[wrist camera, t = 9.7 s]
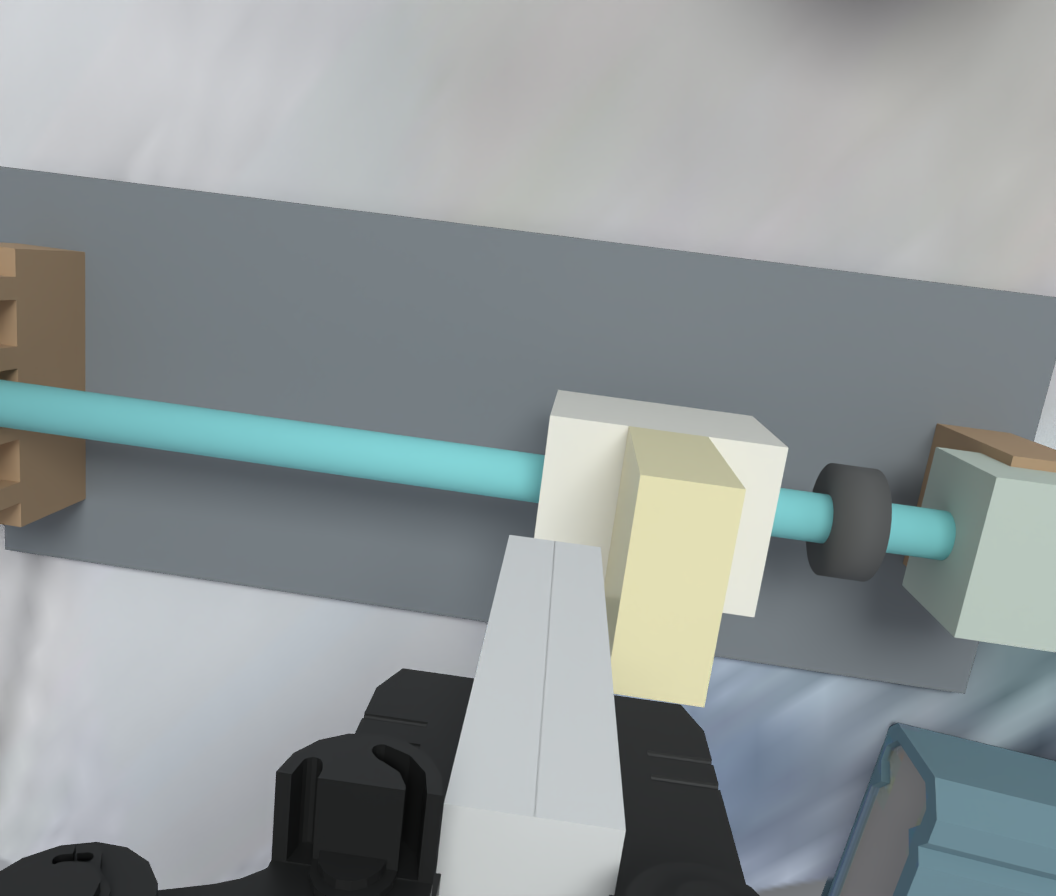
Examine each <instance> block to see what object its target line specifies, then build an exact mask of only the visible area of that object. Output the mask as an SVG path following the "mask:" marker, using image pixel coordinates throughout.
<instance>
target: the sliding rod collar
mask: <svg viewBox="0 0 1056 896" xmlns="http://www.w3.org/2000/svg"><path fill="white" fill-rule="evenodd" d="M787 453H788V447H787V446H786V445H785V444H784V443H783V442H781V441H780V440H779V439H778V438H777V437H776V436H775V435H773V434H772V433H771V432H770V431H769V430H768V429H767V428H765V427H764V426H763V425H762V424H761V423H760V422H759V421H757V420H756V419H755V418H754V417H753V416H749V415H742V414H734V413H727V412H720V411H712V410H705V409H697V408H690V407H682V406H675V405H667V404H660V403H652V402H645V401H638V400H630V399H623V398H615V397H608V396H600V395H593V394H585V393H578V392H571V391H563V390H558V392H557V395H556V398H555V401H554V405H553V408H552V411H551V414H550V421H549V428H548V436H547V444H546V451H545V459H544V466H543V474H542V482H541V489H540V497H539V504H538V512H537V520H536V527H535V535H534V538H537V539H544V540H551V541H559V542H566V543H573V544H581V545H588V546H595V547H601V556H602V567H603V579H604V590H605V601H606V612H607V624H608V635H609V646H610V658H611V669H612V680H613V691H614V694H620V695H627V696H633V697H640V698H646V699H653V700H659V701H666V702H672V703H679V704H685V705H692V706H698V707H704V706H705V701H706V695H707V690H708V685H709V680H710V675H711V669H712V664H713V659H714V654H715V649H716V643H717V638H718V633H719V628H720V623H721V617H722V613H728V614H734V615H741V616H748V617H754V616H755V611H756V606H757V602H758V597H759V592H760V587H761V582H762V577H763V572H764V567H765V562H766V557H767V552H768V547H769V542H770V537H771V532H772V527H773V522H774V517H775V512H776V508H777V503H778V498H779V493H780V488H781V483H782V478H783V473H784V468H785V463H786V458H787Z"/></svg>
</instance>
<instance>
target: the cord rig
mask: <svg viewBox="0 0 1056 896" xmlns="http://www.w3.org/2000/svg"><path fill="white" fill-rule="evenodd" d="M1055 361H1056V297H1050V296H1042V295H1034V294H1025V293H1017V292H1009V291H1001V290H993V289H985V288H977V287H969V286H961V285H953V284H945V283H937V282H929V281H921V280H913V279H904V278H896V277H888V276H880V275H872V274H864V273H856V272H848V271H840V270H832V269H824V268H816V267H808V266H800V265H792V264H783V263H775V262H767V261H759V260H751V259H743V258H735V257H727V256H719V255H711V254H703V253H695V252H687V251H679V250H670V249H662V248H654V247H646V246H638V245H630V244H622V243H614V242H606V241H598V240H590V239H582V238H574V237H566V236H558V235H549V234H541V233H533V232H525V231H517V230H509V229H501V228H493V227H485V226H477V225H469V224H461V223H453V222H445V221H436V220H428V219H420V218H412V217H404V216H396V215H388V214H380V213H372V212H364V211H356V210H348V209H340V208H332V207H324V206H315V205H307V204H299V203H291V202H283V201H275V200H267V199H259V198H251V197H243V196H235V195H227V194H219V193H211V192H202V191H194V190H186V189H178V188H170V187H162V186H154V185H146V184H138V183H130V182H122V181H114V180H106V179H98V178H90V177H81V176H73V175H65V174H57V173H49V172H41V171H33V170H25V169H17V168H9V167H1V166H0V524H3V525H5V549H6V550H12V551H19V552H26V553H32V554H39V555H46V556H52V557H59V558H65V559H72V560H79V561H85V562H92V563H99V564H105V565H112V566H119V567H125V568H132V569H139V570H145V571H152V572H159V573H165V574H172V575H178V576H185V577H192V578H198V579H205V580H212V581H218V582H225V583H232V584H238V585H245V586H252V587H258V588H265V589H272V590H278V591H285V592H291V593H298V594H305V595H311V596H318V597H325V598H331V599H338V600H345V601H351V602H358V603H365V604H371V605H378V606H385V607H391V608H398V609H404V610H411V611H418V612H424V613H431V614H438V615H444V616H451V617H458V618H464V619H471V620H478V621H484V622H488V621H489V617H490V612H491V608H492V604H493V600H494V596H495V592H496V588H497V584H498V580H499V576H500V571H501V567H502V563H503V559H504V555H505V551H506V547H507V543H508V539H509V535H515V536H522V537H529V538H534V535H535V527H536V520H537V512H538V504H539V497H540V489H541V482H542V474H543V466H544V459H545V451H546V444H547V436H548V428H549V421H550V414H551V411H552V408H553V405H554V401H555V398H556V395H557V392H558V390H563V391H571V392H578V393H585V394H593V395H600V396H608V397H615V398H623V399H630V400H638V401H645V402H652V403H660V404H667V405H675V406H682V407H690V408H697V409H705V410H712V411H720V412H727V413H734V414H742V415H749V416H753V417H754V418H755V419H756V420H757V421H759V422H760V423H761V424H762V425H763V426H764V427H765V428H767V429H768V430H769V431H770V432H771V433H772V434H773V435H775V436H776V437H777V438H778V439H779V440H780V441H781V442H783V443H784V444H785V445H786V446H787V447H788V453H787V458H786V463H785V468H784V473H783V478H782V483H781V488H780V493H779V498H778V503H777V508H776V512H775V517H774V522H773V527H772V532H771V537H770V542H769V547H768V552H767V557H766V562H765V567H764V572H763V577H762V582H761V587H760V592H759V597H758V602H757V606H756V611H755V616H754V617H748V616H741V615H734V614H728V613H722V617H721V623H720V628H719V633H718V638H717V643H716V649H715V654H714V656H717V657H723V658H730V659H737V660H743V661H750V662H757V663H763V664H770V665H777V666H783V667H790V668H797V669H803V670H810V671H817V672H823V673H830V674H836V675H843V676H850V677H856V678H863V679H870V680H876V681H883V682H890V683H896V684H903V685H910V686H916V687H923V688H930V689H936V690H943V691H949V692H956V693H963V694H965V691H966V688H967V684H968V680H969V677H970V673H971V669H972V666H973V662H974V658H975V655H976V651H977V647H978V644H979V641H982V642H989V643H996V644H1003V645H1010V646H1016V647H1023V648H1030V649H1037V650H1044V651H1050V652H1056V450H1054V449H1052V448H1049V447H1046V446H1044V445H1041V444H1038V443H1036V442H1034V438H1035V435H1036V431H1037V427H1038V424H1039V420H1040V416H1041V413H1042V409H1043V405H1044V402H1045V398H1046V394H1047V391H1048V387H1049V383H1050V380H1051V376H1052V372H1053V369H1054V365H1055Z"/></svg>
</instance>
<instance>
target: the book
mask: <svg viewBox="0 0 1056 896" xmlns="http://www.w3.org/2000/svg"><path fill="white" fill-rule="evenodd" d="M821 896H1056V761H1053V760H1049V759H1044V758H1040V757H1036V756H1032V755H1028V754H1024V753H1020V752H1016V751H1012V750H1008V749H1003V748H999V747H995V746H991V745H987V744H983V743H979V742H975V741H971V740H967V739H962V738H958V737H954V736H950V735H946V734H942V733H938V732H934V731H930V730H926V729H921V728H917V727H913V726H909V725H905V724H901V723H896V724H895V725H893V726H891V727H889V730H888V733H887V736H886V738H885V741H884V744H883V746H882V749H881V752H880V755H879V757H878V760H877V763H876V765H875V768H874V771H873V773H872V776H871V779H870V782H869V784H868V787H867V790H866V792H865V795H864V798H863V801H862V803H861V806H860V809H859V811H858V814H857V817H856V820H855V822H854V825H853V828H852V830H851V833H850V836H849V839H848V841H847V844H846V847H845V849H844V852H843V855H842V858H841V860H840V863H839V866H838V868H837V871H836V874H835V877H834V878H829V879H827V881H826V883H825V886H824V889H823V892H822V894H821Z"/></svg>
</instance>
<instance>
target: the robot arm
mask: <svg viewBox="0 0 1056 896" xmlns="http://www.w3.org/2000/svg"><path fill="white" fill-rule="evenodd" d="M711 761H712V759H711V755H710V752H709V748H708V744H707V741H706V737H705V733H704V731H703V730H702V728H701V727H700V726H699V725H698V724H697V723H696V722H695V720H694V719H693V718H692V717H691V716H690V715H689V714H688V713H687V711H686V710H685V709H684V708H683V707H682V706H681V705H678V704H671V703H664V702H657V701H650V700H643V699H636V698H629V697H622V696H615V695H614V691H613V680H612V669H611V658H610V646H609V635H608V624H607V612H606V601H605V590H604V579H603V567H602V556H601V547H595V546H588V545H581V544H573V543H566V542H559V541H551V540H544V539H537V538H529V537H522V536H515V535H509V539H508V543H507V547H506V551H505V555H504V559H503V563H502V567H501V571H500V576H499V580H498V584H497V588H496V592H495V596H494V600H493V604H492V608H491V612H490V617H489V621H488V625H487V629H486V633H485V637H484V641H483V645H482V649H481V653H480V658H479V662H478V666H477V670H476V674H475V678H467V677H460V676H453V675H445V674H438V673H431V672H424V671H417V670H410V669H401V670H400V671H399V672H397V673H396V674H395V675H393V676H392V677H390V678H389V679H388V680H386V681H385V682H384V683H382V684H381V685H379V686H378V687H377V688H376V690H375V692H374V694H373V696H372V698H371V701H370V703H369V705H368V707H367V709H366V711H365V714H364V718H362V720H361V722H360V724H359V726H358V728H357V730H356V733H355V734H346V735H341V736H336V737H332V738H327V739H322V740H318V741H316V742H315V743H313V744H311V745H309V746H307V747H305V748H303V749H301V750H299V751H297V752H295V753H293V754H292V755H291V757H290V758H289V759H288V760H287V761H286V762H285V763H284V764H283V765H282V766H281V767H280V768H279V769H278V770H277V771H276V787H275V805H274V824H273V843H272V860H271V862H270V864H269V866H268V868H266V869H264V870H262V871H259V872H256V873H254V874H251V875H249V876H246V877H243V878H241V879H237V880H232V881H227V882H222V883H217V884H210V885H202V886H193V887H184V888H176V889H167V890H158V883H157V880H156V878H155V876H154V873H153V871H152V869H151V866H150V864H149V862H148V861H147V860H145V859H144V858H142V857H141V856H139V855H138V854H136V853H135V852H133V851H132V850H130V849H129V848H127V847H121V846H116V845H110V844H105V843H100V842H92V843H82V844H71V845H61V846H58V847H55V848H52V849H49V850H46V851H43V852H40V853H37V854H34V855H31V856H28V857H25V858H22V859H20V860H19V861H17V862H15V863H14V864H12V865H10V866H8V867H7V868H5V869H3V870H2V871H0V896H759V895H758V894H757V893H756V892H755V891H754V890H753V889H752V888H751V887H750V886H748V885H746V883H745V879H744V876H743V872H742V868H741V865H740V861H739V857H738V854H737V850H736V846H735V843H734V839H733V835H732V832H731V828H730V825H729V821H728V817H727V814H726V810H725V806H724V803H723V799H722V795H721V792H720V790H718V781H717V777H716V774H715V770H714V766H713V765H711Z"/></svg>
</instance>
